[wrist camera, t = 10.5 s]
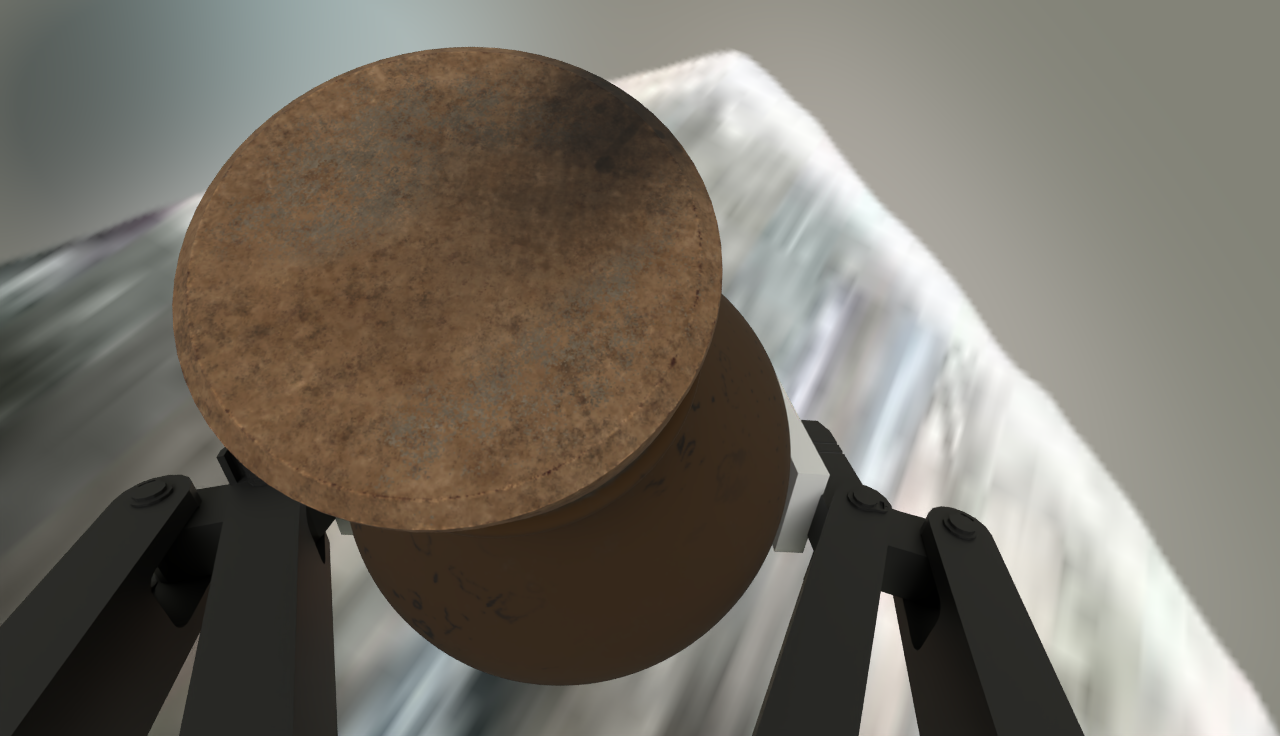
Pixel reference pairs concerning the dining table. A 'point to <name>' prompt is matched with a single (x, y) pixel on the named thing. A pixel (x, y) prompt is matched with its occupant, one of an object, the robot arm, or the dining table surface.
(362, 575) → the dining table surface
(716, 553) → the olive oil
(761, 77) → the dining table surface
